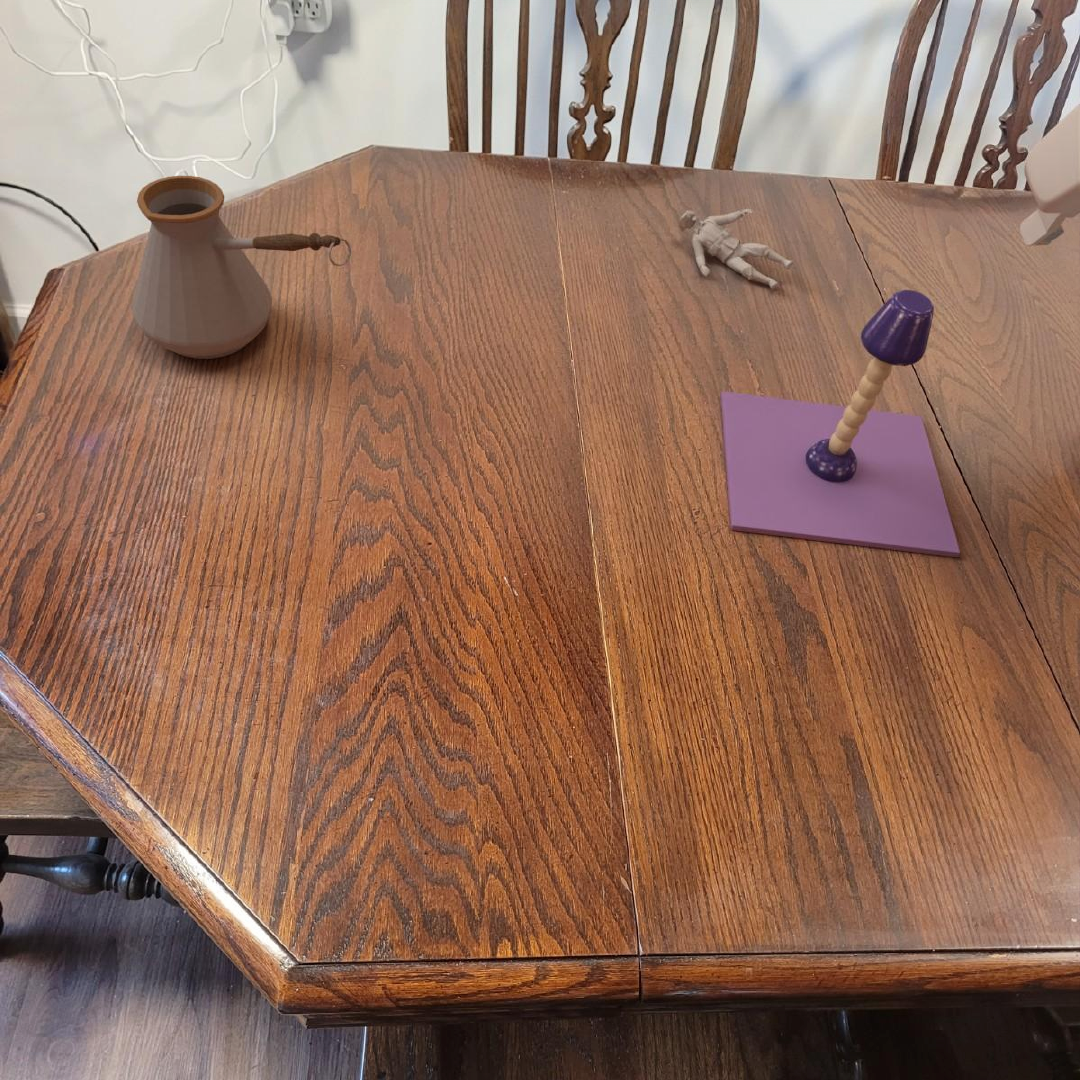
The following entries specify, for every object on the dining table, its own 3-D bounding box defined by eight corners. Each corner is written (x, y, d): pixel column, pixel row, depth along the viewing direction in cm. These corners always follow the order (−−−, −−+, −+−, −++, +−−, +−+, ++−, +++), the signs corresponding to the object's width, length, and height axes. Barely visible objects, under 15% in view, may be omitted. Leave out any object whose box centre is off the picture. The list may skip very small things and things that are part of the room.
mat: (918, 420, 84) (921, 415, 84) (957, 557, 74) (960, 552, 73) (720, 395, 84) (721, 390, 83) (730, 530, 73) (732, 525, 73)
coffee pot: (109, 340, 80) (58, 175, 69) (203, 277, 87) (171, 118, 76) (311, 439, 75) (292, 278, 64) (394, 364, 82) (390, 207, 71)
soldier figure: (756, 312, 94) (660, 240, 94) (750, 317, 99) (658, 249, 99) (806, 247, 93) (708, 174, 93) (797, 256, 98) (704, 186, 98)
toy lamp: (868, 464, 79) (954, 297, 66) (849, 496, 76) (935, 328, 63) (815, 439, 80) (890, 271, 68) (795, 470, 77) (868, 301, 65)
